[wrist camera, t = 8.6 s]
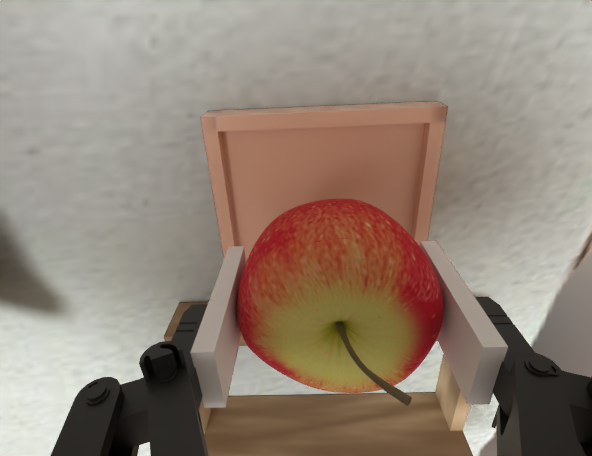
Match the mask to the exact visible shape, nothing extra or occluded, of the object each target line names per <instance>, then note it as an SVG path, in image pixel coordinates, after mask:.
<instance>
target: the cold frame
mask: <svg viewBox="0 0 592 456" xmlns="http://www.w3.org/2000/svg"><path fill="white" fill-rule="evenodd" d="M194 304H208V302H190V303H179V305H178V307H177V309H176V311H175V313H174V315H173V318H172V320H171V322H170V324H169V326H168V328H167V331H166V333H165V335H164V339H165V341H171V340H172V337H173V335H174V333H175V332H176V328H177V326H178V325H179V321H180V319H181V317H182V315H183V313H184V312H185V311H186V310H187V309H188V308H189V307H190V306H191V305H194ZM436 341H438V339H436ZM246 345H247V344H246V343H245V341H244V339H243V337H242V334H241V337H240V341H239V346H246ZM405 394H407V395H409V396H411V397H412V400H411V403H410V404H409V405H408V406H406V405H405V404H403V403H402V402H400V401H399V400H397V399H396V398H395V397H393V396H392V395H390V394H389V393H383V394H329V395H274V396H228V399H227V403H226V407H224V408H204V404H203V400H201V404H200V407H199V413H200V417H201V422H202V427H203V431H204V436H205V441H206V445H207V450H208V455H209V456H473V455H472V452H471V450H470V447H469V445H468V443H467V440H466V438H465V435H464V433H463V427H464V424H465V421H466V417H467V414H468V410H469V407H470V404H467V403H466V401H465V399H464V397H463V394H462V392H461V390H460V388H459V386H458V383H457V381H456V379H455V377H454V375H453V372H452V370H451V368H450V366H449V363H448V361H447V359H446V357H445V355H443V359H442V364H441V369H440V373H439V378H438V383H437V387H436V392H435V393H405Z"/></svg>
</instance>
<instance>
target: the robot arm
mask: <svg viewBox="0 0 592 456" xmlns="http://www.w3.org/2000/svg"><path fill="white" fill-rule="evenodd" d="M420 247H421V249H422V250H423V251H424V253H425V255H426V256H427V258H428V260H429V261H430V263H431V265H432V267H433V269H434V271H435V273H436V275H437V278H438V281H439V284H440V287H441V290H442V295H443V304H444V315H443V322H442V326H441V330H440V332H439V335H438V337H437V339H438V341H439V344H440V346H441V348H442V350H443V352H444V355H445V357H446V359H447V361H448V363H449V366H450V368H451V370H452V372H453V375H454V377H455V379H456V381H457V383H458V386H459V388H460V390H461V392H462V394H463V397H464V399H465V401H466V403H467V404H490V401H491V398H492V395H493V393H494V395H495V397H496V399H497V401H498V402H499V406H498V408H497V411H496V414H495V417H494V420H493V423H492V427H493V428H495V427H496V424H497V456H592V377H586V376H582V375H577V374H572V373H568V372H565V371H562V370H561V369H560V368H559V367H558V366H557V365H556V364H555V363H554V362H553V361H552V360H550V359H548V358H546V357H545V356H543V355H540V354H537V353H535V352H534V351H533V349H532V348H531V347H530V345H529V344H528V343H527V341H526V340H525V339H524V337H523V336H522V335H521V333H520V332H519V331H518V329H517V328H516V327H515V325H513V323H512V321H511V320H510V318H509V317H507V314H506V313H505V312H504V310H503V309H502V308H501V306H500V305H499V304H497V303H496V302H494V301H493V300H492V299H490V298H489V297H474V295H473V294H472V292H471V291H470V289H469V288H468V286H467V285H466V283H465V282H464V280H463V279H462V277H461V276H460V275H459V273H458V272H457V270H456V269H455V267H454V266H453V264H452V263H451V261H450V260H449V258H448V257H447V255H446V254H445V252H444V251H443V249H442V248H441V246H440V245H439V243H438V242H437V241H421V242H420ZM245 264H246V257H245V249H244V246H235V247H228V250H227V252H226V255H225V258H224V261H223V264H222V266H221V269H220V272H219V275H218V277H217V280H216V283H215V286H214V288H213V291H212V294H211V297H210V300H209V302H208V304H194V305H191V306H190V307H189V308H188V309H187V310H186V311H185V312H184V313H183V315H182V317H181V319H180V321H179V325H178V326H177V328H176V332H175V333H174V335H173V337H172V340H171V341H164V342H159V343H157V344H155V345H153V346H151V347H150V348H148V349H147V350H146V351H145V352H144V353H143V355H142V356H141V358H140V363H139V364H140V367H141V370H142V373H143V376H144V378H141V379H139V380H135V381H132V382H128V383H125V384H122V385H120V384H119V382H118V380H117V379H115V378H112V377H103V378H100V379H96V380H94V381H92V382H91V383H89V384H87V385H86V386H85V387H84V388H83V389H82V390H81V391H80V392H79V393H78V395H77V396H76V398H75V400H74V402H73V405H72V407H71V409H70V412H69V414H68V416H67V419H66V421H65V423H64V426H63V428H62V430H61V433H60V435H59V437H58V440H57V442H56V445H55V447H54V449H53V452H52V454H51V456H137V453H138V449H139V445H141V444H144V443H147V442H150V450H151V456H209V455H208V450H207V445H206V441H205V436H204V431H203V427H202V422H201V417H200V413H199V407H200V404H201V400H203V404H204V408H224V407H226V403H227V399H228V394H229V389H230V384H231V379H232V375H233V370H234V365H235V360H236V356H237V351H238V346H239V341H240V337H241V332H240V328H239V323H238V318H237V297H238V289H239V285H240V280H241V276H242V272H243V269H244V266H245Z"/></svg>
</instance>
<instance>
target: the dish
mask: <svg viewBox="0 0 592 456" xmlns="http://www.w3.org/2000/svg"><path fill="white" fill-rule="evenodd" d="M447 109H448V106H446V105H444V104H441V103H439V102H437V101H427V102H404V103H381V104H358V105H334V106H311V107H288V108H265V109H242V110H219V111H208V112H206V113H205V114H204V115H202V116H201V117H200V118H201V124H202V130H203V136H204V142H205V148H206V154H207V160H208V166H209V172H210V178H211V184H212V190H213V196H214V202H215V208H216V214H217V220H218V226H219V232H220V238H221V244H222V250H223V256H224V258H225V255H226V252H227V250H228V247H235V246H244V249H245V257H246V262H247V259H248V257H249V255H250V252H251V250H252V248H253V246H254V244H255V243H256V241H257V240H258V238H259V237H260V235H261V234H262V232H263V231H264V230H265V228H266V227H267V226H268V225H269V224H270V223H271V222H272V221H273V220H274V219H276V218H277V217H278V216H279V215H281V214H283V213H284V212H286V211H288V210H290V209H292V208H295V207H297V206H300V205H303V204H306V203H310V202H314V201H319V200H325V199H354V200H360V201H363V202H366V203H368V204H371V205H373V206H375V207H377V208H379V209H380V210H382V211H383V212H385V213H386V214H388V215H389V216H390V217H392V218H393V219H394V220H395V221H396V222H398V223H399V224H400V225H401V226H402V227H403V228H404V229H405V230H406V231H407V232H408V233H409V234H410V235H411V236H412V237H413V239H414V240H415V241H416V242H417V244H418V245H419V246H420V242H421V241H427V239H428V233H429V226H430V220H431V213H432V207H433V200H434V194H435V187H436V180H437V174H438V167H439V161H440V154H441V148H442V141H443V135H444V128H445V122H446V115H447Z"/></svg>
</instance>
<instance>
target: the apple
mask: <svg viewBox="0 0 592 456" xmlns="http://www.w3.org/2000/svg"><path fill="white" fill-rule="evenodd" d="M443 315H444V304H443V295H442V290H441V287H440V284H439V281H438V278H437V275H436V273H435V271H434V269H433V267H432V265H431V263H430V261H429V260H428V258H427V256H426V255H425V253H424V251H423V250H422V249H421V247H420V246H419V245H418V244H417V242H416V241H415V240H414V239H413V237H412V236H411V235H410V234H409V233H408V232H407V231H406V230H405V229H404V228H403V227H402V226H401V225H400V224H399V223H398V222H396V221H395V220H394V219H393V218H392V217H390V216H389V215H388V214H386V213H385V212H383V211H382V210H380V209H379V208H377V207H375V206H373V205H371V204H368V203H366V202H363V201H360V200H354V199H325V200H319V201H314V202H310V203H306V204H303V205H300V206H297V207H295V208H292V209H290V210H288V211H286V212H284V213H283V214H281V215H279V216H278V217H277V218H276V219H274V220H273V221H272V222H271V223H270V224H269V225H268V226H267V227H266V228H265V230H264V231H263V232H262V234H261V235H260V237H259V238H258V240H257V241H256V243H255V244H254V246H253V248H252V250H251V252H250V255H249V257H248V259H247V262H246V264H245V266H244V269H243V272H242V276H241V280H240V285H239V289H238V297H237V318H238V323H239V328H240V332H241V334H242V337H243V339H244V341H245V343H246V344H247V346H248V347H249V348H250V349H251V350H252V351H253V352H254V353H255V354H256V355H257V356H258V357H259V358H260V359H262V360H263V361H264V362H266V363H267V364H268V365H270V366H271V367H273V368H274V369H276V370H277V371H279V372H281V373H282V374H284V375H286V376H288V377H290V378H292V379H294V380H296V381H298V382H300V383H303V384H305V385H308V386H310V387H313V388H317V389H321V390H325V391H332V392H342V393H361V392H371V391H377V390H381V389H384V390H385V391H386V392H387V393H389V394H390V395H392V396H393V397H395V398H396V399H397V400H399V401H400V402H402V403H403V404H405V405H406V406H408V405H409V404H410V403H411V400H412V397H411V396H409V395H407V394H405V393H404V392H402V391H400V390H399V389H397V388H395V387H394V385H396V384H398V383H400V382H401V381H403V380H404V379H405V378H407V377H408V376H409V375H410V374H411V373H412V372H413V371H414V370H415V369H416V368H417V367H418V366H419V365H420V364H421V363H422V361H423V360H424V359H425V357H426V356H427V354H428V353H429V351H430V350H431V348H432V346H433V345H434V343H435V341H436V339H437V337H438V335H439V332H440V330H441V326H442V322H443Z"/></svg>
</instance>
